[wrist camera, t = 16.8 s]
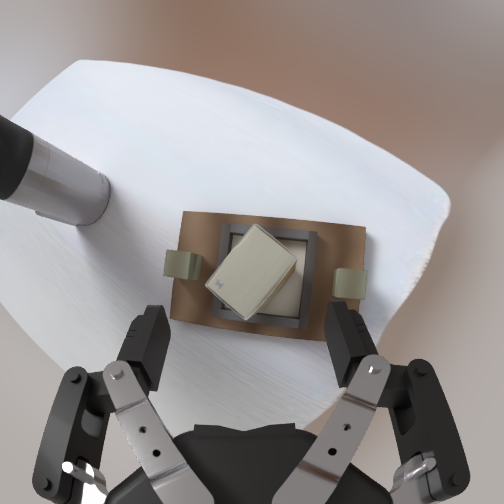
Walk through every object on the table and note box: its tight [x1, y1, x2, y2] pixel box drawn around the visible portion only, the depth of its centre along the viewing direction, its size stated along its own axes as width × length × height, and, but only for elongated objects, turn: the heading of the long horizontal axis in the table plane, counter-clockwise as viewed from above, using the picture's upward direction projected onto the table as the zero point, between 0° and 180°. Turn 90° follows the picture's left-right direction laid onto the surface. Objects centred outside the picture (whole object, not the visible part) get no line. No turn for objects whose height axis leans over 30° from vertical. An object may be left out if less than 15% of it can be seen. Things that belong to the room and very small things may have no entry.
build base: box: [163, 211, 367, 341], centre depth 31 cm, size 23×14×6 cm, turn 83°
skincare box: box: [205, 224, 297, 320], centre depth 26 cm, size 6×4×12 cm
